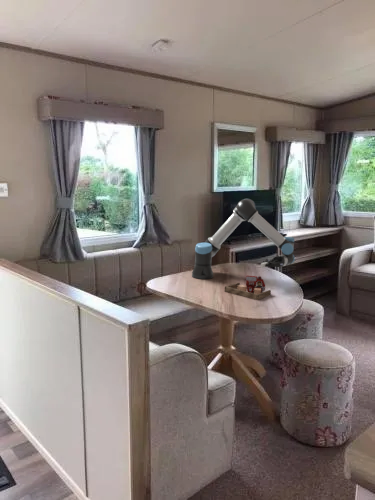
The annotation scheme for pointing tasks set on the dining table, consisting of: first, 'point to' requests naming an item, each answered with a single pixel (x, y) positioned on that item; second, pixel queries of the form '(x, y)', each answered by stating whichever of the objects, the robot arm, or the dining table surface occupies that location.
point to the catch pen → (246, 294)
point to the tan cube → (257, 290)
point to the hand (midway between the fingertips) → (261, 265)
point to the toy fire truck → (254, 283)
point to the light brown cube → (242, 287)
